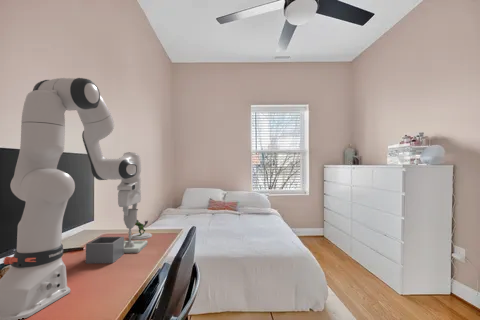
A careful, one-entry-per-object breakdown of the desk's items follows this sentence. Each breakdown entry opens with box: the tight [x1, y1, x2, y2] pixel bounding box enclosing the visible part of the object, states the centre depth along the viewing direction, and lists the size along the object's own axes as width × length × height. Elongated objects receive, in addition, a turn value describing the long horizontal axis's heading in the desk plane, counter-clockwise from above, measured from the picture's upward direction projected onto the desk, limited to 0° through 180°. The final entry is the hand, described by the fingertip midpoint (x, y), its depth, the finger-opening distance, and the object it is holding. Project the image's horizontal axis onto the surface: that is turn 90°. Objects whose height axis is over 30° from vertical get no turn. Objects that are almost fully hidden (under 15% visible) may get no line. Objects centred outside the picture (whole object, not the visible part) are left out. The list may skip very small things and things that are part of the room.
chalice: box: [122, 208, 139, 248], centre depth 125 cm, size 7×7×18 cm
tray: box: [124, 240, 148, 254], centre depth 125 cm, size 13×13×2 cm
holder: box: [85, 236, 125, 264], centre depth 111 cm, size 11×11×8 cm
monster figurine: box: [131, 219, 153, 241], centre depth 147 cm, size 12×12×10 cm
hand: (130, 213), depth 126 cm, fingers open, 8 cm apart
